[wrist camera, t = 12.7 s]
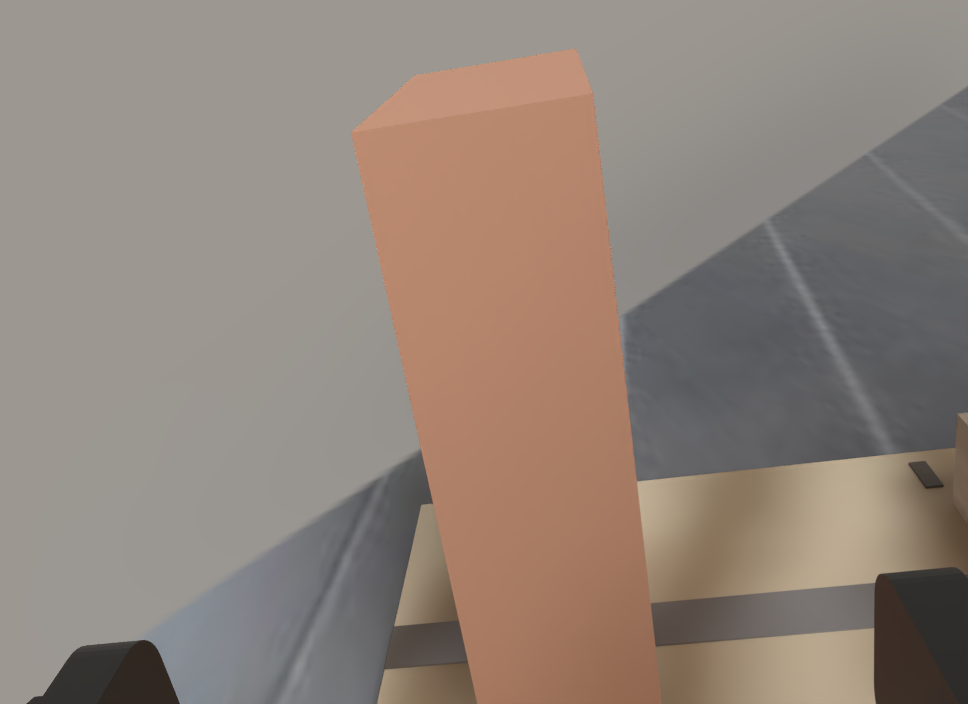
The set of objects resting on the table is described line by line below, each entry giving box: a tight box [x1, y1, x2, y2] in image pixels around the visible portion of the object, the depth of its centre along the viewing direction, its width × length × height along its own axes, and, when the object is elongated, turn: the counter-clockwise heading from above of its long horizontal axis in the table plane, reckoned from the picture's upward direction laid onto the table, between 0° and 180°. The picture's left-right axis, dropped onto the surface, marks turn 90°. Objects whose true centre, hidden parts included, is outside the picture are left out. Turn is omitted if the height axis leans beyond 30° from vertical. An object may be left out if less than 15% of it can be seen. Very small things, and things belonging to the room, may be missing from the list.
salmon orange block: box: [351, 49, 662, 704], centre depth 21 cm, size 4×8×14 cm, turn 176°
